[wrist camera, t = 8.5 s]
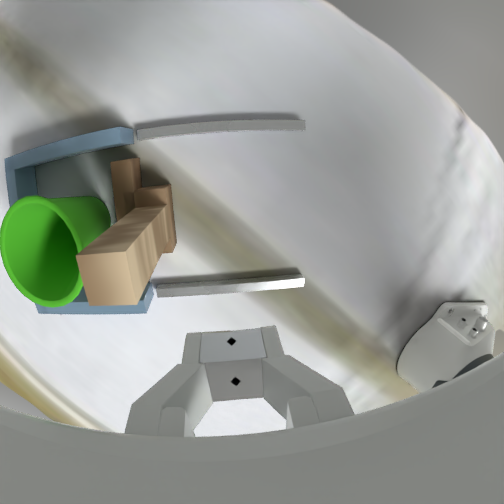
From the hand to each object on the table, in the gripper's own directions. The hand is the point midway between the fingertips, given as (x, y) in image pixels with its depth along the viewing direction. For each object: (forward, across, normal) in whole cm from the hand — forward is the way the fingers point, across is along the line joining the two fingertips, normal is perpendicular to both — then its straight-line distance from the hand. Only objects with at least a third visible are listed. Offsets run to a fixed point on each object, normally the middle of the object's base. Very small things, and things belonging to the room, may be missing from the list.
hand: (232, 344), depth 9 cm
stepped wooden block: (+20, +8, -1) cm, 21 cm away
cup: (+20, +15, -1) cm, 25 cm away
